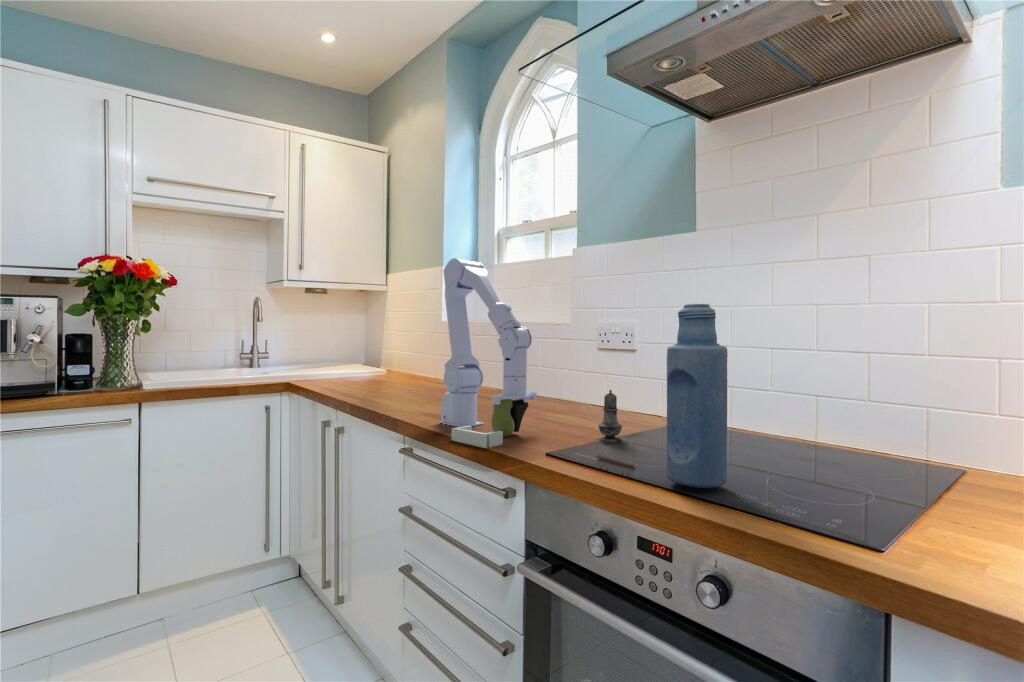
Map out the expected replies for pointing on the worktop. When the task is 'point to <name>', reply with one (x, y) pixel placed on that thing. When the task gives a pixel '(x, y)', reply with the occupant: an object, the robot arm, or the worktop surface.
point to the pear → (503, 417)
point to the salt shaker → (610, 419)
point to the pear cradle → (477, 437)
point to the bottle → (697, 401)
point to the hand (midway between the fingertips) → (514, 431)
